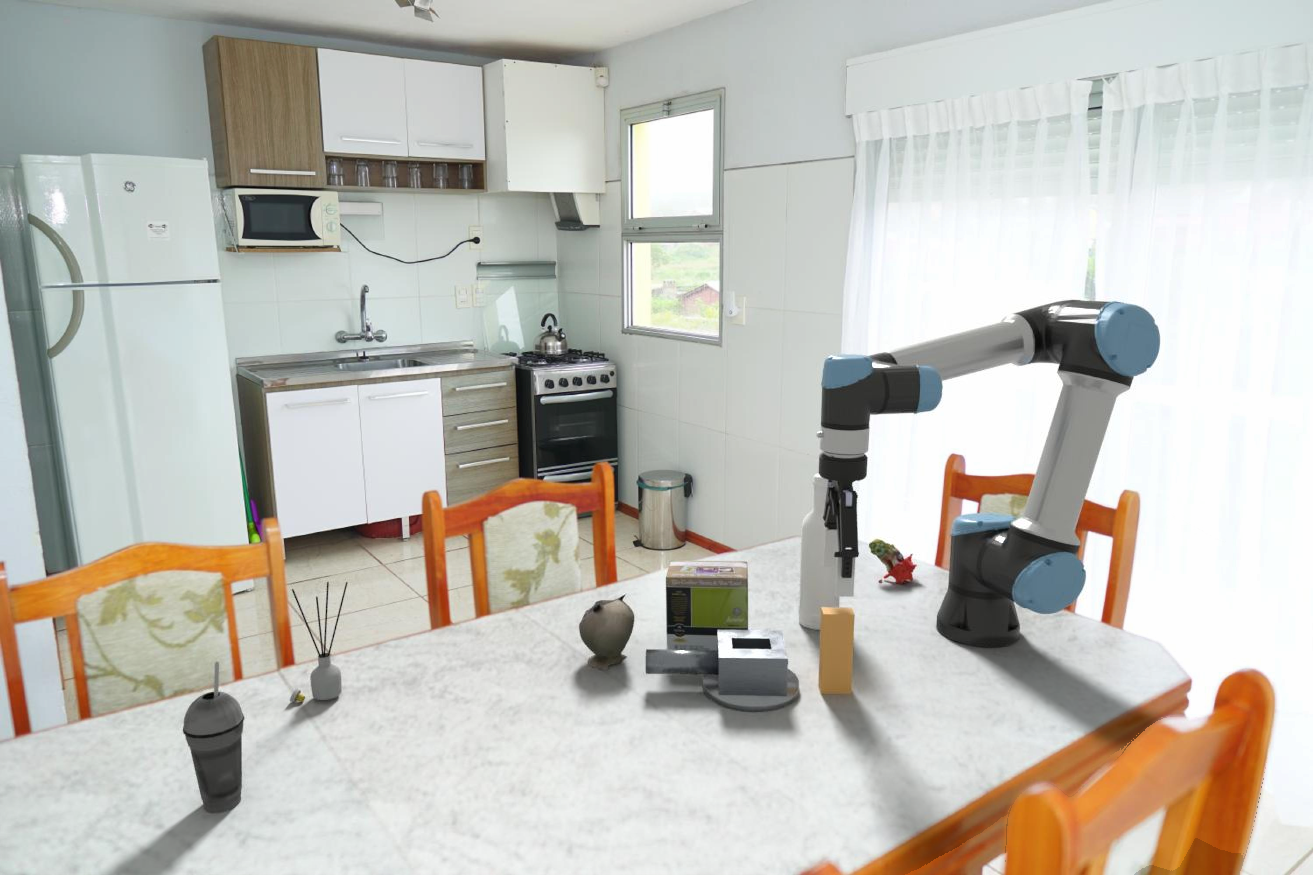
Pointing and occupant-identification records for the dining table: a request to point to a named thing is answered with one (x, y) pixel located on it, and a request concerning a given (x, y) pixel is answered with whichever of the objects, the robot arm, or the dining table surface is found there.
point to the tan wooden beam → (836, 650)
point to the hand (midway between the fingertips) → (837, 580)
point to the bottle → (815, 563)
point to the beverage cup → (216, 747)
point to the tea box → (704, 602)
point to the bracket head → (736, 669)
